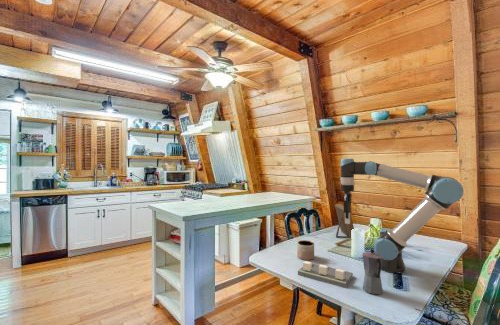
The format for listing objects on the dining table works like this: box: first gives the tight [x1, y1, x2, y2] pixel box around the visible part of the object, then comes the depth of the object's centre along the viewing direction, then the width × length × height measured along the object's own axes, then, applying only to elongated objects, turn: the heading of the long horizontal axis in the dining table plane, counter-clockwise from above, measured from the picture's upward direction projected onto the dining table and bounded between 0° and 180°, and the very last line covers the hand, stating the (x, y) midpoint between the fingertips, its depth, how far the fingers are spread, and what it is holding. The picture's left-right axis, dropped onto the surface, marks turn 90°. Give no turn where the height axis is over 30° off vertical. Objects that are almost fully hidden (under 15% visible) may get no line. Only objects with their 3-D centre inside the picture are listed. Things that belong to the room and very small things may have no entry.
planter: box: [296, 240, 315, 261], centre depth 171 cm, size 11×11×10 cm
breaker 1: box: [302, 260, 313, 271], centre depth 147 cm, size 4×3×4 cm
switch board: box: [297, 262, 354, 289], centre depth 145 cm, size 26×15×2 cm, turn 56°
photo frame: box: [334, 203, 355, 240], centre depth 219 cm, size 15×22×25 cm
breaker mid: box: [319, 264, 329, 275], centre depth 142 cm, size 4×3×4 cm
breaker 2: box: [335, 268, 346, 280], centre depth 137 cm, size 4×3×4 cm
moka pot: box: [362, 249, 383, 295], centre depth 128 cm, size 10×15×20 cm, turn 2°
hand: (347, 223), depth 156 cm, fingers closed
